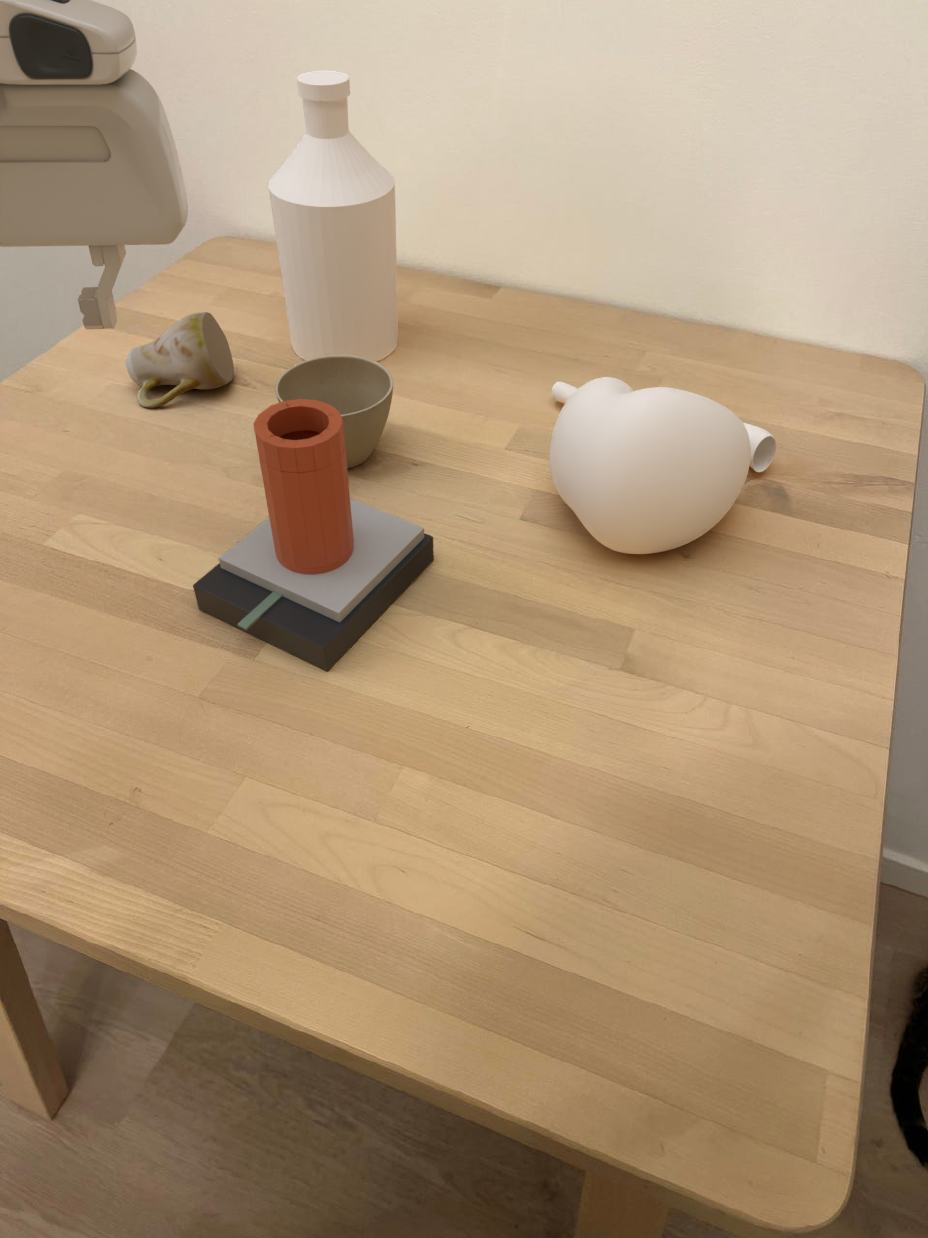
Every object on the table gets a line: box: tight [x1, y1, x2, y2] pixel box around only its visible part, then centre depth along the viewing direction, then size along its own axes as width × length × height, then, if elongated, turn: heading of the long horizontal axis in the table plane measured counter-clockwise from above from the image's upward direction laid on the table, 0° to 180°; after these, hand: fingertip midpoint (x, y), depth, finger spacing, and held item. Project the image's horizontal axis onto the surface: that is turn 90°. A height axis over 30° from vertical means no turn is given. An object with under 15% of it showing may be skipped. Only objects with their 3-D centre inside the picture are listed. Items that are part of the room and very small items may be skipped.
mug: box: [125, 311, 235, 408], centre depth 90 cm, size 8×10×10 cm
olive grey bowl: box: [274, 355, 394, 469], centre depth 82 cm, size 10×10×7 cm
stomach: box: [548, 376, 777, 555], centre depth 80 cm, size 23×13×24 cm
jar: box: [253, 399, 354, 574], centre depth 66 cm, size 6×6×11 cm
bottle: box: [267, 69, 399, 363], centre depth 90 cm, size 12×12×25 cm
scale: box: [192, 498, 434, 672], centre depth 70 cm, size 12×16×4 cm
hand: (10, 327), depth 50 cm, fingers open, 8 cm apart
